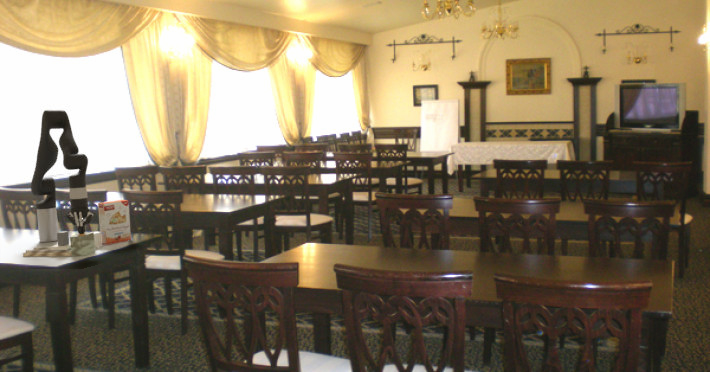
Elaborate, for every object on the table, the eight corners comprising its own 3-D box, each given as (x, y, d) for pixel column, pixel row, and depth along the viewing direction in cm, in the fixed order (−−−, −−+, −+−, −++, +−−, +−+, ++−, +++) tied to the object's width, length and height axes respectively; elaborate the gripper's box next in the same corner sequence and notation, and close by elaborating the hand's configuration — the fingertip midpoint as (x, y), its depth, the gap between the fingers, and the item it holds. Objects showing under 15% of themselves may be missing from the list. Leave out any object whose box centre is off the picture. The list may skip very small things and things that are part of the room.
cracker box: (107, 245, 319) (103, 203, 316) (100, 244, 322) (96, 202, 320) (131, 240, 330) (128, 199, 327) (125, 239, 333) (122, 199, 331)
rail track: (23, 256, 299) (21, 237, 298) (36, 251, 309) (34, 233, 308) (83, 255, 295) (82, 236, 294) (95, 251, 305) (93, 232, 304)
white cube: (97, 244, 322) (96, 230, 321) (105, 245, 317) (104, 231, 317) (84, 247, 316) (83, 233, 316) (92, 248, 312) (90, 234, 311)
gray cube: (50, 250, 298) (48, 234, 297) (61, 245, 306) (60, 230, 306) (66, 249, 297) (65, 233, 296) (77, 245, 305) (75, 230, 305)
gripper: (96, 195, 301) (99, 232, 303) (69, 196, 302) (72, 232, 304) (87, 198, 293) (91, 235, 295) (60, 198, 295) (64, 235, 297)
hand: (81, 233), depth 300 cm, fingers closed
